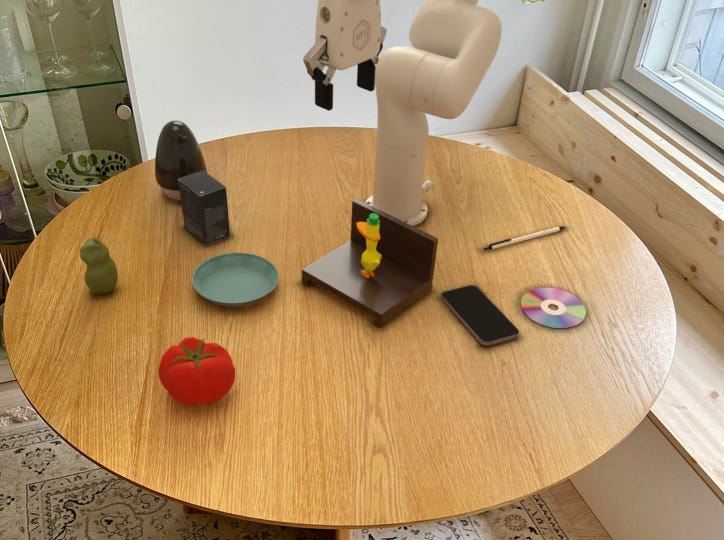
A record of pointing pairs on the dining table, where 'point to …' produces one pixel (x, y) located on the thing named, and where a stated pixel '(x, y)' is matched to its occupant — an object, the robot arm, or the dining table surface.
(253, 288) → the saucer
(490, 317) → the smartphone
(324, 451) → the dining table surface
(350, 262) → the shelf
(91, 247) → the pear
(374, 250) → the toy figure
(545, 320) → the cd
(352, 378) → the dining table surface
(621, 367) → the dining table surface
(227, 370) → the tomato
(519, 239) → the pen
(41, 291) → the dining table surface
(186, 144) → the dark brown egg shape
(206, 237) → the box
